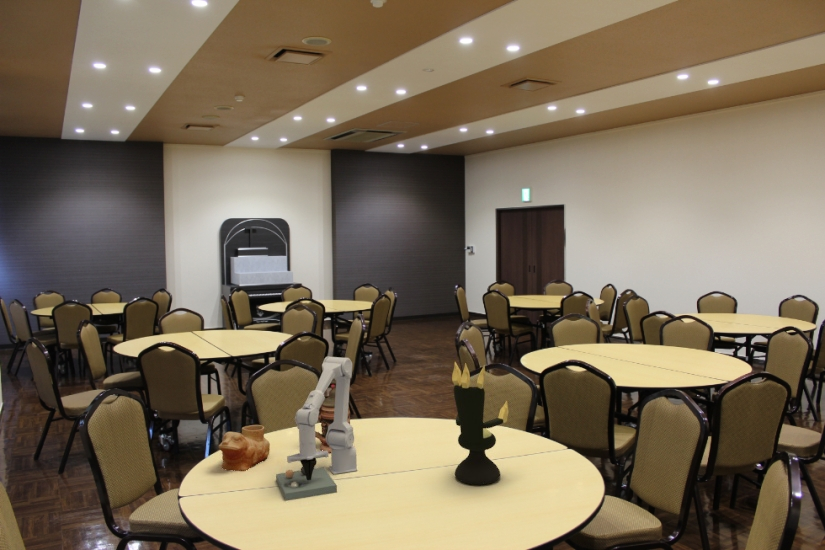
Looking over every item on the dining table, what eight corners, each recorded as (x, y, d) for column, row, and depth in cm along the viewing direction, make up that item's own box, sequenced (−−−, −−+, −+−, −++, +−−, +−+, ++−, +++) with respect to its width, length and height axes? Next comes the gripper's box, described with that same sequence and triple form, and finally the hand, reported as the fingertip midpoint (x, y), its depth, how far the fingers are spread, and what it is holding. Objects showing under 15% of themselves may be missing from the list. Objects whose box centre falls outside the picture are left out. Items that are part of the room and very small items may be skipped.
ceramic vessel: (209, 472, 253) (207, 434, 252) (250, 451, 277) (248, 416, 276) (238, 476, 248) (237, 438, 247) (277, 454, 272) (276, 419, 271)
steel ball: (294, 491, 234) (295, 482, 235) (300, 492, 232) (301, 482, 233) (287, 490, 232) (288, 481, 232) (292, 491, 229) (294, 482, 230)
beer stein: (359, 451, 281) (328, 440, 292) (367, 387, 281) (336, 378, 291) (333, 458, 268) (302, 446, 278) (341, 390, 267) (310, 381, 278)
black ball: (309, 472, 243) (308, 463, 243) (311, 475, 240) (310, 466, 240) (300, 473, 242) (299, 464, 242) (301, 476, 239) (301, 467, 239)
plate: (323, 473, 249) (323, 467, 249) (336, 492, 230) (336, 485, 230) (276, 480, 242) (276, 474, 242) (285, 500, 224) (285, 493, 224)
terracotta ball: (293, 475, 240) (292, 467, 240) (294, 478, 237) (294, 470, 237) (284, 477, 239) (284, 469, 239) (286, 480, 236) (286, 471, 236)
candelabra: (510, 473, 245) (508, 354, 242) (492, 494, 225) (490, 365, 222) (463, 466, 253) (461, 351, 250) (441, 487, 233) (438, 362, 230)
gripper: (289, 448, 227) (290, 486, 227) (330, 442, 232) (331, 479, 232) (285, 442, 233) (286, 479, 234) (325, 436, 238) (326, 473, 239)
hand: (308, 479), depth 234 cm, fingers closed
